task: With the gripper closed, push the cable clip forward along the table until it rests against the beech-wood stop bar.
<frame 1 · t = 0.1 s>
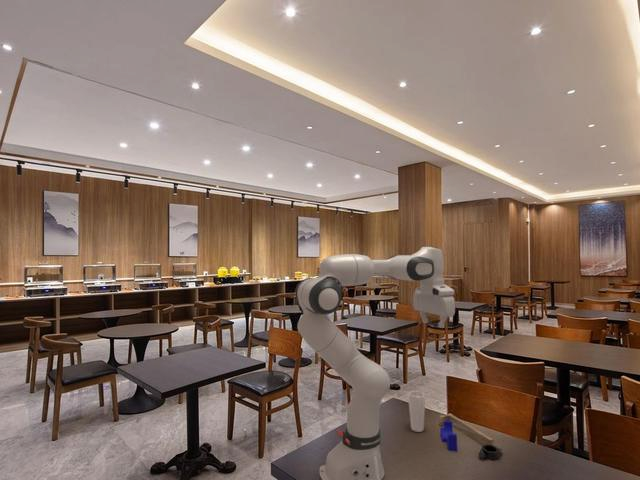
hand: (432, 325, 136), 48 cm above the table, fingers open, 8 cm apart
black winged round fixture: (490, 457, 132), on the table
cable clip: (448, 443, 141), on the table
drinking glass: (417, 430, 152), on the table
stop bar: (470, 436, 145), on the table
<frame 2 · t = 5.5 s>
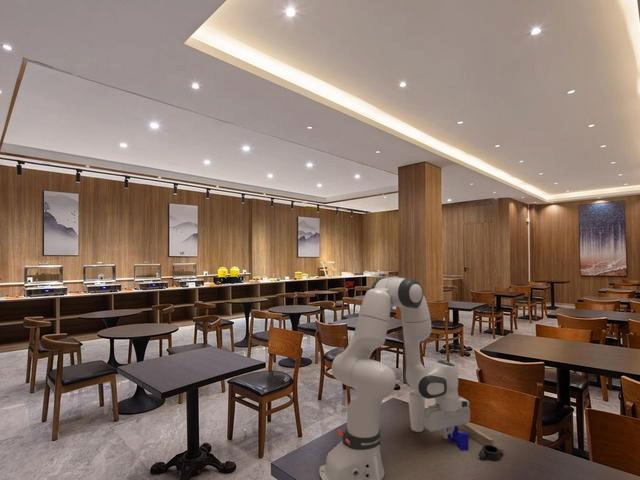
hand: (447, 437, 141), 2 cm above the table, fingers closed
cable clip: (456, 442, 141), on the table, touching gripper
everything else where it was.
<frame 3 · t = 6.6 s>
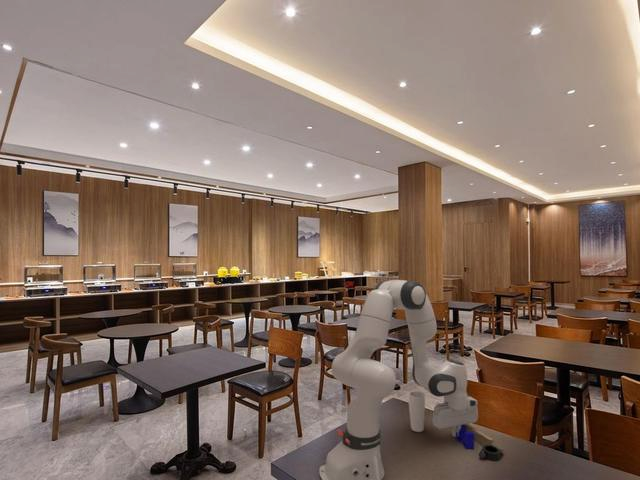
hand: (455, 435, 143), 2 cm above the table, fingers closed, pressing on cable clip
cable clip: (462, 441, 142), on the table, touching gripper, stop bar
everything else where it was.
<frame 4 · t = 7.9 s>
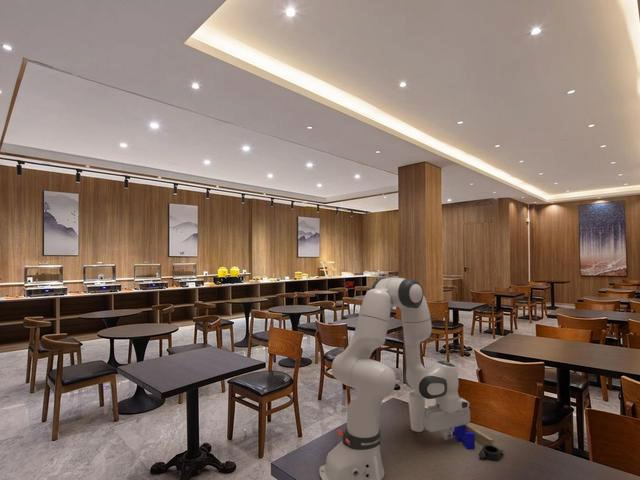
hand: (447, 438, 141), 2 cm above the table, fingers closed
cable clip: (463, 442, 142), on the table
everything else where it was.
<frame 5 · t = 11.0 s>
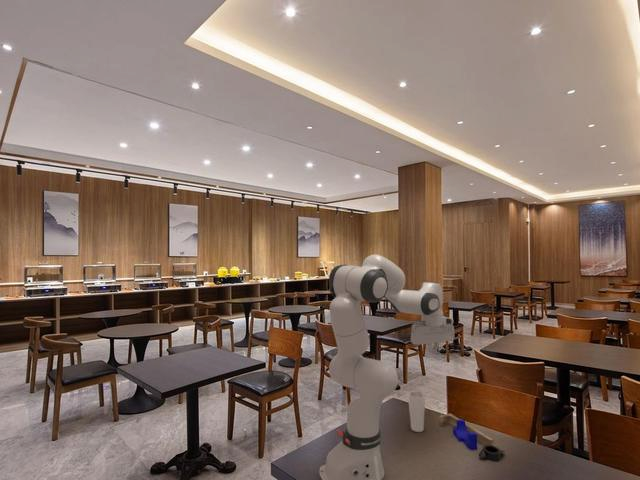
hand: (433, 353, 150), 33 cm above the table, fingers closed
nothing on the table moved.
at the end: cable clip inside the target area (3.0 cm from its centre), on the table; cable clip moved 6.9 cm from its start; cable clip tilted 0° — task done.
